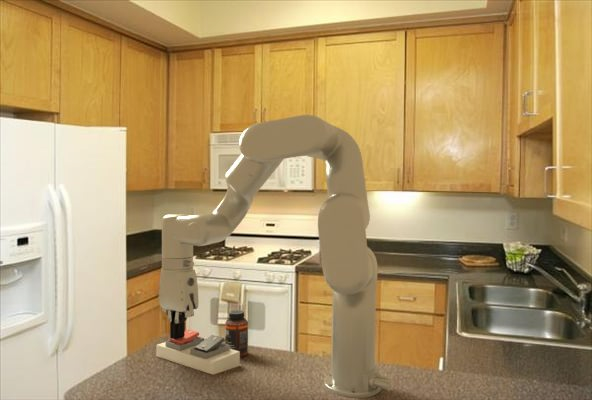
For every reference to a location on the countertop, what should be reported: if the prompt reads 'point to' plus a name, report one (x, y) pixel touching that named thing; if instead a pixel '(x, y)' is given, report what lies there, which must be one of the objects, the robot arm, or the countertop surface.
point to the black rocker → (210, 344)
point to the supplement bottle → (237, 332)
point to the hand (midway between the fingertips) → (177, 337)
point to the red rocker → (186, 337)
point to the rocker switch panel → (199, 356)
